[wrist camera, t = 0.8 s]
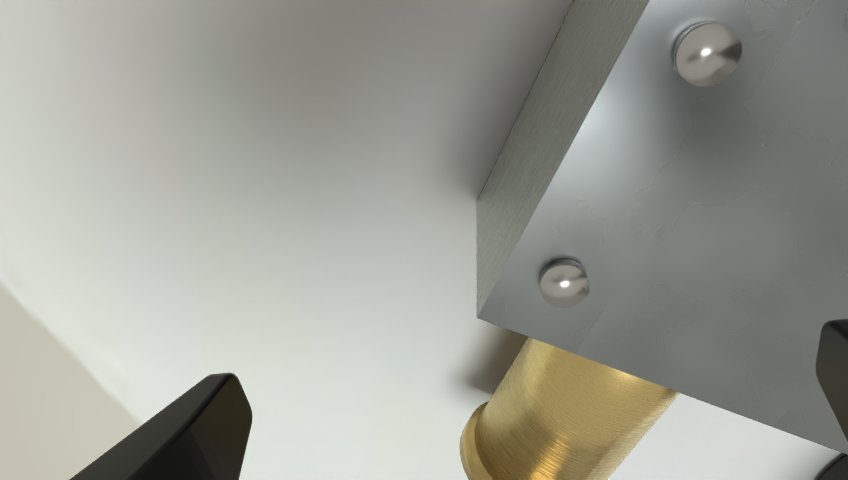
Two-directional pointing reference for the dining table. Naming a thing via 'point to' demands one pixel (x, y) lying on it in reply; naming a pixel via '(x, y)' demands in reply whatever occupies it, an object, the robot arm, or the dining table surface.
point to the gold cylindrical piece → (559, 419)
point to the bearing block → (682, 201)
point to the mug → (837, 470)
